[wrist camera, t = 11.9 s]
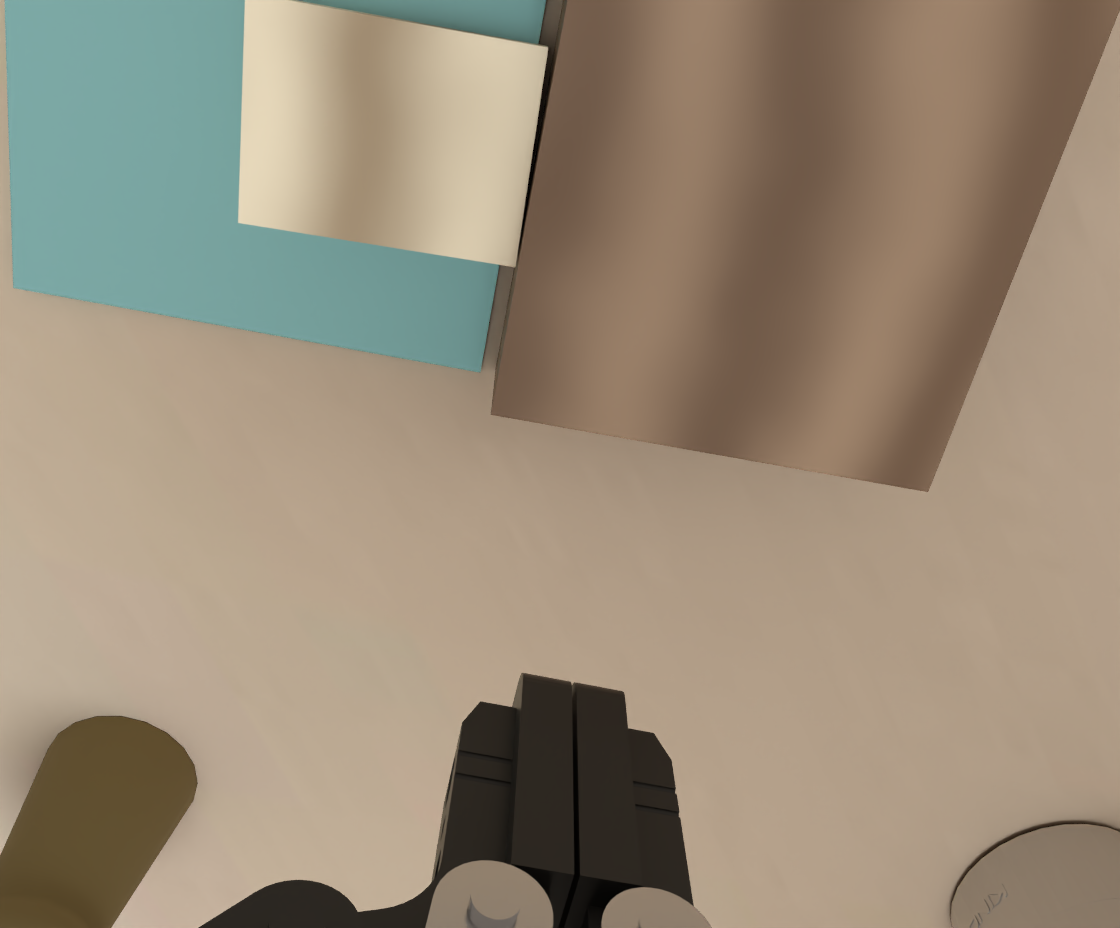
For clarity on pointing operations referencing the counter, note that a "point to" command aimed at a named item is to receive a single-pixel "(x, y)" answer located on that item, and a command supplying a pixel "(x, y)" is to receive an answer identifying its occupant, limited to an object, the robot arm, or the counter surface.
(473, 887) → the robot arm
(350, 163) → the ash tile
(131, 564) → the counter surface
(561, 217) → the walnut step
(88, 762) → the cork
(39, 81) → the teal mat
